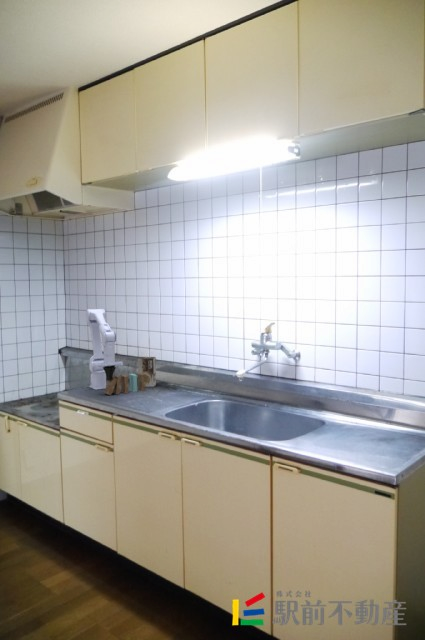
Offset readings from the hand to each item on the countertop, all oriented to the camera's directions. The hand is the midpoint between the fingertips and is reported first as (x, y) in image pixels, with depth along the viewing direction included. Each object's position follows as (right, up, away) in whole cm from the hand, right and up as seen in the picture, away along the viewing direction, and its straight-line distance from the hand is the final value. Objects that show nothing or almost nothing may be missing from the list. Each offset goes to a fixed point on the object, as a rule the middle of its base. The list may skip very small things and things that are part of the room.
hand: (109, 380), depth 267 cm
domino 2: (+3, -7, +3) cm, 8 cm away
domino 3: (+7, -7, +5) cm, 11 cm away
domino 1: (-1, -7, 0) cm, 7 cm away
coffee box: (+17, -6, +23) cm, 29 cm away
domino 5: (+15, -7, +11) cm, 20 cm away
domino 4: (+11, -7, +8) cm, 15 cm away
